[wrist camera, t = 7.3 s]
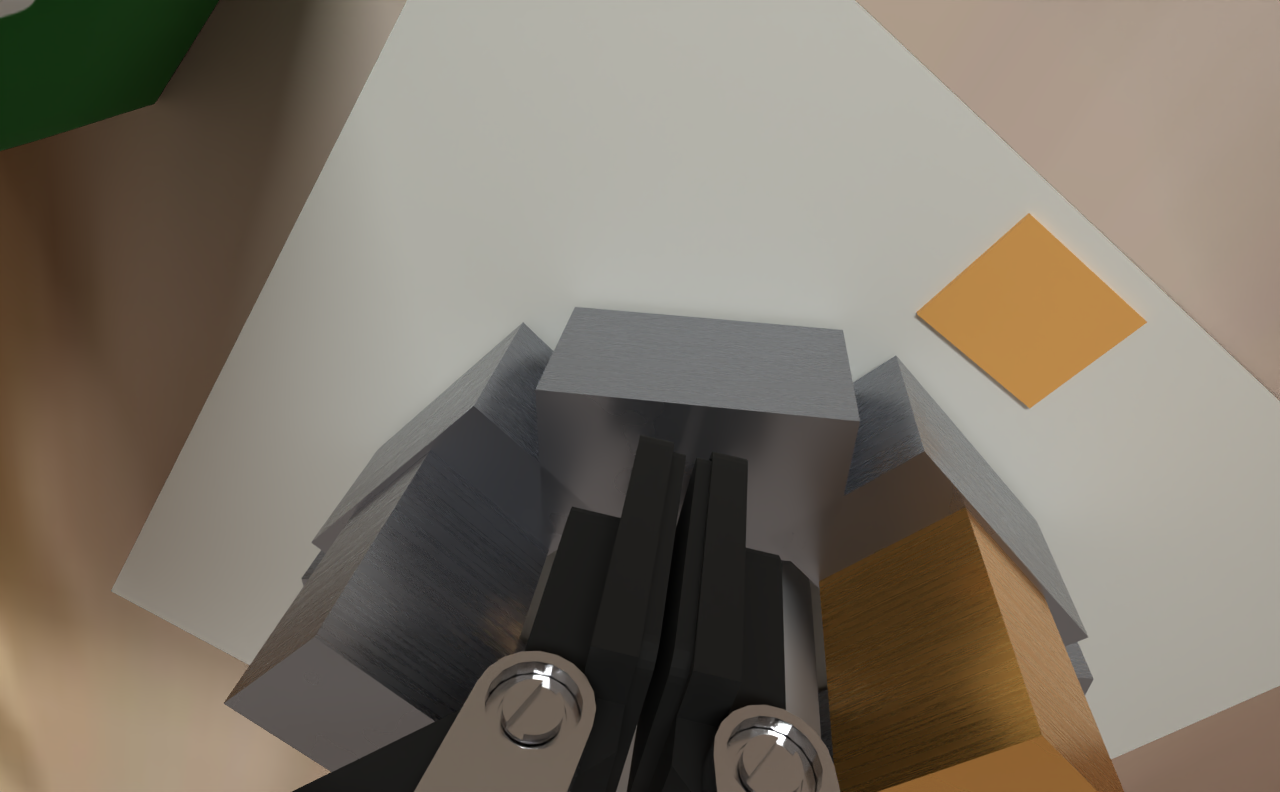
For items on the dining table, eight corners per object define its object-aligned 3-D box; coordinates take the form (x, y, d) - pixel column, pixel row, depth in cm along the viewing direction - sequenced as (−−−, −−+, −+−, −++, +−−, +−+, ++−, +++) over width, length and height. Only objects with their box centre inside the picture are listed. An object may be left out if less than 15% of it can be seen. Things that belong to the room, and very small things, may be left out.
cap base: (573, -265, 11) (423, -405, 6) (1431, 543, 17) (1719, 817, 12) (146, 553, 23) (-28, 735, 18) (735, 878, 28) (729, 1089, 23)
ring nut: (1152, 657, 17) (1352, 1041, 11) (663, 835, 24) (631, 1134, 18) (720, 148, 13) (683, 355, 7) (265, 547, 19) (49, 824, 14)
